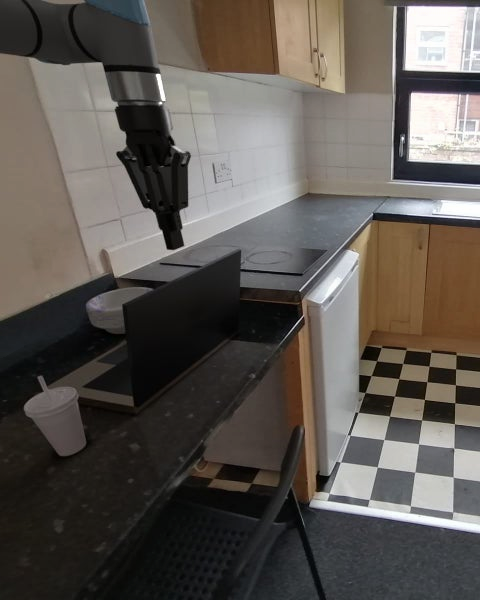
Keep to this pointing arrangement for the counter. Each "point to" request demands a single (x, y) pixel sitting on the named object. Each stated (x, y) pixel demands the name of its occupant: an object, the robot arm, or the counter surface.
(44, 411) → the smoothie
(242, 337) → the counter surface
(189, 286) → the laptop screen
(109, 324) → the paper bowls
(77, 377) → the laptop
